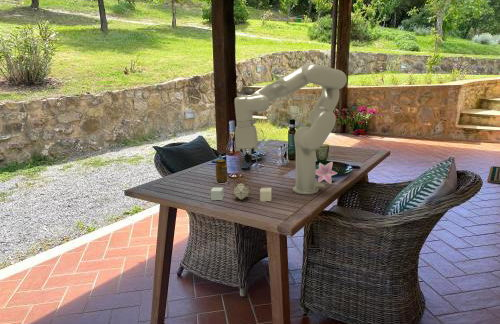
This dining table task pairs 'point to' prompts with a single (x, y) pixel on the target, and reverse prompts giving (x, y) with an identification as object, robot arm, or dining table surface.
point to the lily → (325, 172)
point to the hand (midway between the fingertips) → (248, 162)
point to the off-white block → (265, 194)
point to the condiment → (221, 171)
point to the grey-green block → (217, 194)
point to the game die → (241, 191)
